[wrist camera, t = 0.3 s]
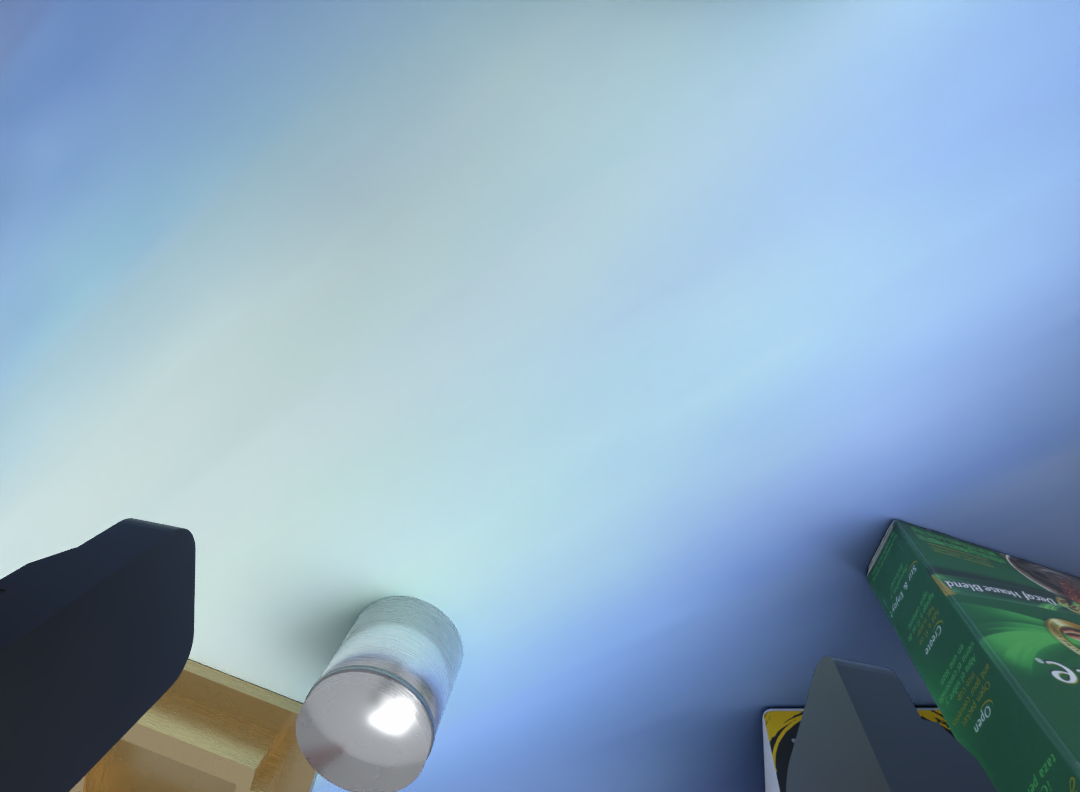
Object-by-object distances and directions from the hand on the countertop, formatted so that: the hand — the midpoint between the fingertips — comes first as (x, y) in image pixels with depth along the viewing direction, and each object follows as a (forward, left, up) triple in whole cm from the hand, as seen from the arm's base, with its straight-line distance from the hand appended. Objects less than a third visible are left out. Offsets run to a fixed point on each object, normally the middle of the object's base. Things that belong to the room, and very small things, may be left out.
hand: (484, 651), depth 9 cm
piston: (+15, -2, -18) cm, 23 cm away
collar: (+26, -10, -18) cm, 33 cm away
